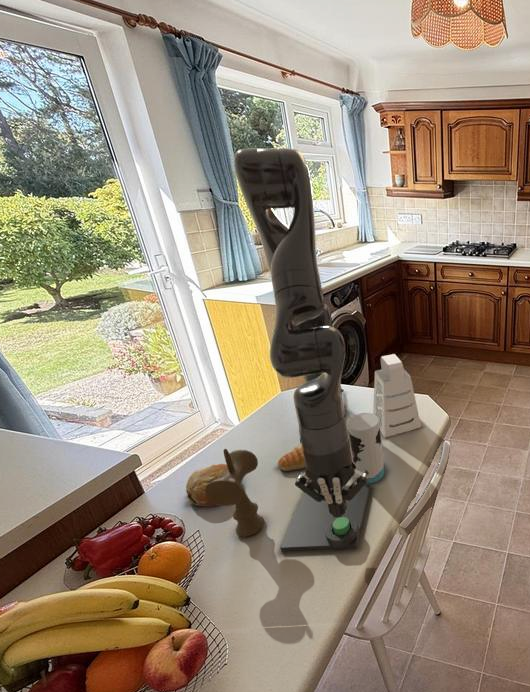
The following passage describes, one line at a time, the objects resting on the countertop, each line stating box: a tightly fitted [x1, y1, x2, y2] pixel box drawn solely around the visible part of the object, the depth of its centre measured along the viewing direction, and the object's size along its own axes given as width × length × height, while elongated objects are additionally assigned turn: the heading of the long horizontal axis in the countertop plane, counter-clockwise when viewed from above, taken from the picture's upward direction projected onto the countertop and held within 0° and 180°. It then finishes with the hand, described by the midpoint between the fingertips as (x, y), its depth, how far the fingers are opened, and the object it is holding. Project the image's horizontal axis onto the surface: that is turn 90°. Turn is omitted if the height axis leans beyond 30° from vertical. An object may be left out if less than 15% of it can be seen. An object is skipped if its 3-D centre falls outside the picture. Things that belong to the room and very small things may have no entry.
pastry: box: [277, 444, 307, 472], centre depth 98 cm, size 9×7×4 cm
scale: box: [279, 484, 372, 553], centre depth 83 cm, size 16×14×3 cm
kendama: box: [205, 448, 265, 538], centre depth 77 cm, size 6×10×20 cm, turn 8°
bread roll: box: [185, 463, 227, 508], centre depth 89 cm, size 10×10×8 cm
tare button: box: [333, 517, 350, 536], centre depth 78 cm, size 3×3×2 cm
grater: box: [372, 353, 422, 438], centre depth 111 cm, size 10×10×20 cm
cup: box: [346, 412, 385, 484], centre depth 93 cm, size 7×7×15 cm
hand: (338, 513), depth 76 cm, fingers closed
